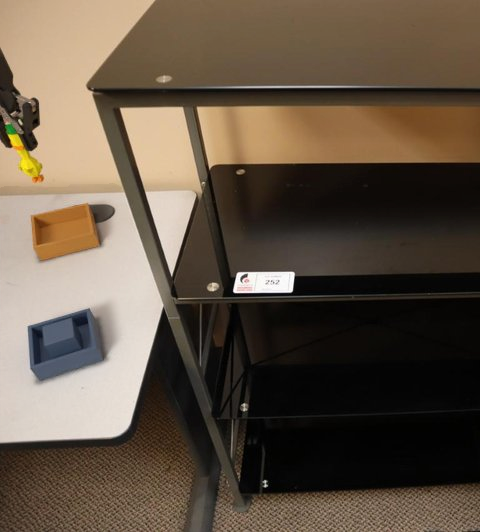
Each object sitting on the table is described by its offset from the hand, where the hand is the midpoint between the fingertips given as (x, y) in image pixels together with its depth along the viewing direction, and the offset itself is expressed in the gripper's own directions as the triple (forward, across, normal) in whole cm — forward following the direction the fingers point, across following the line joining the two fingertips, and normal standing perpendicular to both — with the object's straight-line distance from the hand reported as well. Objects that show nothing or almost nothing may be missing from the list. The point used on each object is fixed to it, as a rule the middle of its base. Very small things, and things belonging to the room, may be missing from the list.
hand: (22, 146), depth 93 cm
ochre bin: (+21, -1, +1) cm, 21 cm away
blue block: (+21, -18, +26) cm, 38 cm away
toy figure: (+7, 0, 0) cm, 7 cm away
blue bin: (+22, -18, +26) cm, 38 cm away
